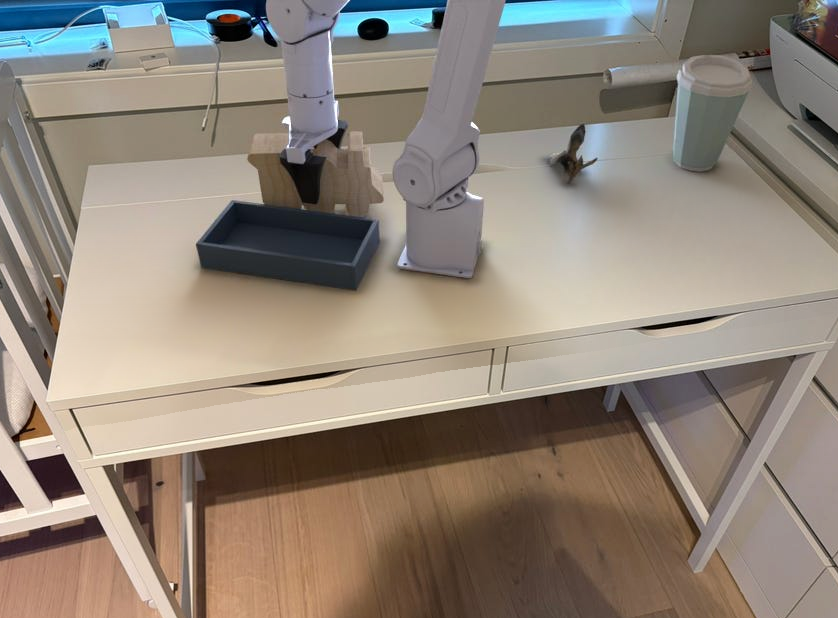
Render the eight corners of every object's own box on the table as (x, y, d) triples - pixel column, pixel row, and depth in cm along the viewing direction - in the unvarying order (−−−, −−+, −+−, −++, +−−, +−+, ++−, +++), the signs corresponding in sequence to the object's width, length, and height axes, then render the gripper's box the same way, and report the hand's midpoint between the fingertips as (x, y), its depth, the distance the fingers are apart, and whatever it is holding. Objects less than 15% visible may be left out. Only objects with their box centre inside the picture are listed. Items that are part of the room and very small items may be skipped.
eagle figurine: (607, 177, 107) (594, 139, 113) (590, 144, 102) (577, 106, 107) (560, 200, 110) (549, 162, 115) (541, 169, 105) (530, 130, 110)
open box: (379, 242, 95) (378, 219, 92) (356, 290, 87) (354, 266, 85) (236, 222, 97) (231, 199, 95) (201, 268, 89) (195, 243, 87)
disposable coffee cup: (737, 178, 111) (769, 80, 101) (669, 180, 110) (695, 81, 100) (711, 146, 119) (738, 52, 109) (647, 147, 118) (669, 53, 107)
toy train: (384, 218, 99) (382, 150, 92) (257, 221, 98) (246, 152, 91) (382, 197, 103) (380, 130, 97) (261, 200, 102) (250, 132, 95)
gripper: (299, 63, 95) (308, 159, 104) (256, 109, 84) (271, 211, 93) (351, 69, 94) (356, 165, 103) (314, 116, 83) (324, 218, 93)
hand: (319, 188), depth 98 cm, fingers open, 7 cm apart
